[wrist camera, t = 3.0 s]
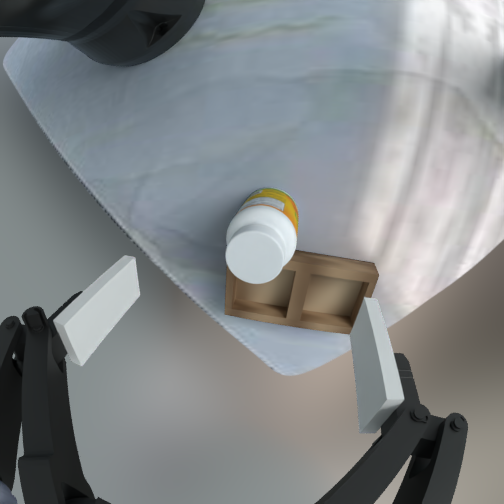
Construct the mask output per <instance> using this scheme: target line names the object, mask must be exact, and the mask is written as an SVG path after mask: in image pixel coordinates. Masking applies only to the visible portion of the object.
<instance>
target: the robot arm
mask: <svg viewBox="0 0 504 504" xmlns="http://www.w3.org/2000/svg"><path fill="white" fill-rule="evenodd" d="M204 2H205V0H0V37H25V38H41V39H51V40H61V41H67V42H69V43H70V44H71V45H73V46H74V47H76V48H77V49H78V50H80V51H81V52H83V53H84V54H86V55H87V56H88V57H89V58H91V59H92V60H94V61H96V62H99V63H102V64H107V65H113V66H123V67H124V66H133V65H137V64H141V63H143V62H146V61H148V60H151V59H153V58H155V57H157V56H158V55H160V54H162V53H163V52H165V51H166V50H168V49H169V48H170V47H172V46H173V45H174V44H175V43H177V42H178V41H179V40H180V39H181V38H182V37H183V36H184V35H185V34H186V33H187V31H188V30H189V29H190V28H191V27H192V25H193V24H194V22H195V21H196V19H197V18H198V16H199V14H200V12H201V10H202V8H203V5H204ZM139 296H140V290H139V283H138V276H137V269H136V261H135V257H132V256H127V255H125V256H123V257H122V258H121V259H120V260H118V261H117V262H116V263H115V264H114V265H113V266H111V268H109V269H108V270H107V271H106V272H105V273H104V274H102V275H101V276H100V277H99V278H98V279H97V280H96V281H94V282H93V283H92V284H91V285H90V286H89V287H88V288H87V289H86V290H84V291H80V292H78V293H76V294H74V295H73V296H72V297H71V298H70V299H69V300H68V301H67V302H65V303H64V304H63V306H61V307H60V308H59V309H58V310H57V311H56V312H55V313H54V314H53V315H52V316H51V317H49V318H48V319H47V318H46V316H45V313H44V311H43V309H42V308H41V307H38V306H37V307H31V308H29V309H27V310H26V311H25V312H24V313H23V315H22V319H23V321H24V323H25V325H22V324H21V323H20V320H19V318H18V317H16V316H10V317H8V318H6V319H5V320H4V321H3V322H2V323H1V325H0V504H17V500H16V498H15V497H14V495H12V493H11V491H12V488H13V483H14V479H15V470H16V469H15V468H16V459H17V449H18V441H19V434H20V428H21V423H22V431H23V432H22V433H23V446H24V455H23V456H22V457H20V458H19V460H18V468H19V475H20V482H21V487H22V492H23V497H24V501H25V504H111V503H109V502H107V501H105V500H102V499H101V498H99V497H98V498H97V499H95V497H94V494H93V492H92V490H91V487H90V485H89V484H88V483H87V481H86V479H85V477H84V475H83V471H82V467H81V463H80V459H79V455H78V451H77V446H76V441H75V436H74V430H73V424H72V419H71V411H70V404H69V396H68V385H67V372H66V361H65V358H64V357H65V356H66V354H68V356H69V358H70V360H71V361H72V362H74V363H76V364H77V365H79V366H83V365H84V363H85V362H86V361H87V359H88V358H89V357H90V356H91V354H92V353H93V352H94V351H95V349H96V348H97V347H98V345H99V344H100V343H101V342H102V341H103V339H104V338H105V337H106V336H107V334H108V333H109V332H110V331H111V329H112V328H113V327H114V326H115V325H116V323H117V322H118V321H119V320H120V319H121V317H122V316H123V315H124V314H125V313H126V311H127V310H128V309H129V307H131V305H132V304H133V303H134V302H135V301H136V300H137V298H138V297H139ZM350 340H351V347H352V354H353V364H354V373H355V382H356V392H357V404H358V417H359V418H358V419H359V433H376V432H377V431H378V430H379V428H380V427H381V434H382V435H381V436H380V437H379V438H378V439H377V440H376V441H375V442H374V443H373V444H372V446H371V448H370V449H369V450H368V451H367V452H366V453H365V454H364V456H363V457H362V458H361V459H360V460H359V461H358V462H357V463H356V464H355V465H354V467H353V468H352V469H351V470H350V471H349V472H348V473H347V474H346V475H345V476H344V477H343V478H342V479H341V480H340V481H339V482H338V483H337V484H336V485H335V486H334V487H333V488H332V489H331V490H330V491H328V492H327V493H326V494H325V495H324V496H323V497H322V498H321V499H320V500H319V501H317V502H316V503H315V504H374V503H375V501H376V500H377V499H378V498H379V497H380V495H381V494H382V493H383V492H384V491H385V489H386V488H387V487H388V485H389V484H390V483H391V482H392V480H393V479H394V478H395V476H396V475H397V473H398V472H399V471H400V469H401V468H402V466H403V465H404V464H405V462H406V460H407V459H408V458H409V456H410V455H412V458H411V460H410V463H409V466H408V469H407V471H406V474H405V476H404V479H403V481H402V483H401V486H400V489H399V490H398V493H397V495H396V497H395V499H394V502H393V503H392V504H451V501H452V498H453V495H454V492H455V488H456V485H457V481H458V477H459V473H460V469H461V464H462V460H463V454H464V450H465V443H466V438H467V431H468V423H467V421H466V419H465V418H464V417H463V416H462V415H461V414H459V413H452V414H450V415H449V416H448V417H447V418H446V419H445V418H441V417H436V416H433V415H430V412H429V410H428V409H427V408H426V407H425V406H424V405H422V404H420V401H419V397H418V393H417V389H416V386H415V382H414V379H413V375H412V372H411V367H410V364H409V361H408V360H407V358H406V357H405V356H404V354H401V353H393V350H392V346H391V343H390V339H389V336H388V332H387V329H386V325H385V322H384V319H383V316H382V313H381V309H380V306H379V303H378V300H377V299H375V298H367V297H364V299H363V302H362V305H361V307H360V310H359V313H358V315H357V318H356V321H355V323H354V326H353V328H352V331H351V333H350ZM13 353H14V354H15V358H14V359H13V358H12V355H13Z"/></svg>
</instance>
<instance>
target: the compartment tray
mask: <svg viewBox="0 0 504 504" xmlns="http://www.w3.org/2000/svg"><path fill="white" fill-rule="evenodd" d="M378 277H379V274H378V271H377V269H376V266H375V264H374V263H371V262H365V261H359V260H353V259H347V258H341V257H335V256H329V255H323V254H317V253H311V252H305V251H299V250H295V252H294V254H293V256H292V258H291V259H290V261H289V262H288V263H287V264H286V265H285V266H283V268H282V270H281V272H280V273H279V274H278V276H276V277H275V278H274V279H273V280H271V281H269V282H266V283H262V284H252V283H248V282H245V281H243V280H241V279H239V278H238V277H236V276H235V275H234V274H233V273H232V272H231V271H230V269H229V267H228V265H227V273H226V294H225V315H230V316H235V317H240V318H246V319H251V320H256V321H262V322H268V323H274V324H280V325H286V326H292V327H299V328H305V329H312V330H319V331H327V332H334V333H342V334H350V333H351V331H352V328H353V326H354V323H355V321H356V318H357V315H358V313H359V310H360V307H361V305H362V302H363V299H364V297H367V298H371V296H372V294H373V291H374V288H375V285H376V283H377V280H378Z"/></svg>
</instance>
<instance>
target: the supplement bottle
mask: <svg viewBox="0 0 504 504" xmlns="http://www.w3.org/2000/svg"><path fill="white" fill-rule="evenodd" d="M298 217H299V216H298V208H297V205H296V203H295V201H294V200H293V198H292V197H291V196H290V195H289V194H288V193H286V192H285V191H283V190H280V189H277V188H271V187H268V188H262V189H259V190H257V191H255V192H254V193H252V194H251V195H250V196H249V197H248V198H247V200H246V201H245V202H244V204H243V205H242V207H241V208H240V209H239V211H238V212H237V214H236V215H235V216H234V218H233V219H232V221H231V222H230V224H229V227H228V230H227V234H226V243H227V248H226V252H225V258H226V263H227V265H228V267H229V269H230V271H231V272H232V273H233V274H234V275H235V276H236V277H238V278H239V279H241V280H243V281H245V282H248V283H252V284H262V283H266V282H269V281H271V280H273V279H274V278H275V277H276V276H278V274H279V273H280V272H281V270H282V268H283V266H285V265H286V264H287V263H288V262H289V261H290V259H291V258H292V256H293V254H294V252H295V249H296V244H297V232H298Z"/></svg>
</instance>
